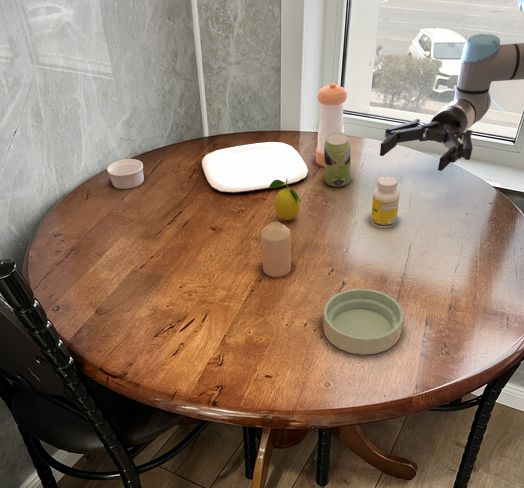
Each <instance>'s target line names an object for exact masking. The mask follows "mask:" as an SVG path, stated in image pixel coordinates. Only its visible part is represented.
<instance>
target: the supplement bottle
mask: <svg viewBox="0 0 524 488" xmlns="http://www.w3.org/2000/svg"><path fill="white" fill-rule="evenodd" d="M400 196H401V195H400V191H399V189H398V179H397V178H395V177H394V176H389V175H386V176H381V177H379V178H378V179H377V187H376V188H374V190H373V193H372V203H371V215H370V222H371V224H372V225H374V226H375V227H378V228H382V229H383V228H391V227H393V226H395V225H396V223H397V220H398V219H397V218H398V212H399V211H398V210H399V203H400Z"/></svg>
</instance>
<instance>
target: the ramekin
mask: <svg viewBox="0 0 524 488" xmlns="http://www.w3.org/2000/svg"><path fill="white" fill-rule="evenodd" d="M106 171H107V174H108V176H109V178H110V181H111V184H112V186H113V187H114V188H116V189H120V190H126V189H127V190H128V189H132V188H136V187H139V186H140V185H142V184H143V183H144V181H145V177H144V175H145V174H144V163H143V162H142V161H141V160H139V159H135V158H122V159H119V160H116V161H114V162H112V163H110V164H109V165H108V166H107V168H106Z"/></svg>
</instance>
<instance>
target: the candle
mask: <svg viewBox="0 0 524 488" xmlns="http://www.w3.org/2000/svg"><path fill="white" fill-rule="evenodd" d="M260 243H261V245H260V246H261V258H262V271H263V273H264V274H265V275H266V276H269V277H274V278H279V277H284V276H286V275H289V273H290V272H291V270H292V252H291V251H292V248H291V245H292V243H291V230H290V228H288V227H287V226H286V225H284V224H283V223H281V222H280V221H272V222H269V223H268V224H267V225H266V226H265V227H263V228H262V229H261V231H260Z"/></svg>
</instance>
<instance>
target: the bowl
mask: <svg viewBox="0 0 524 488" xmlns="http://www.w3.org/2000/svg"><path fill="white" fill-rule="evenodd" d="M322 314H323V315H322V316H323V317H322V328H323V334H324V336H325V337H326V339H327V340H328V341H329V343H330V344H332V345H333V346H335V347H336V348H337V349H339V350H342V351H344V352H347V353H349V354H355V355H375V354H379V353H382V352H385V351H388V350H389V349H390V348H392V347H393V346H395V345H396V344H397V342H398V341H399V339H400V338H401V335H402V328H403V323H404V314H405V313H404V311H403V309H402V306H401V304H400V303H399V302H398V301H397V300H396V299H395V298H393V297H392V296H390V295H389V294H387V293H384V292H382V291H380V290H379V291H378V290H375V289H370V288H352V289H347V290H344V291H341V292H338V293H337V294H335V295H333V296H331V297H330V298H329V299H328V301H327V302H326V303H325V305H324V308H323V313H322Z"/></svg>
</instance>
